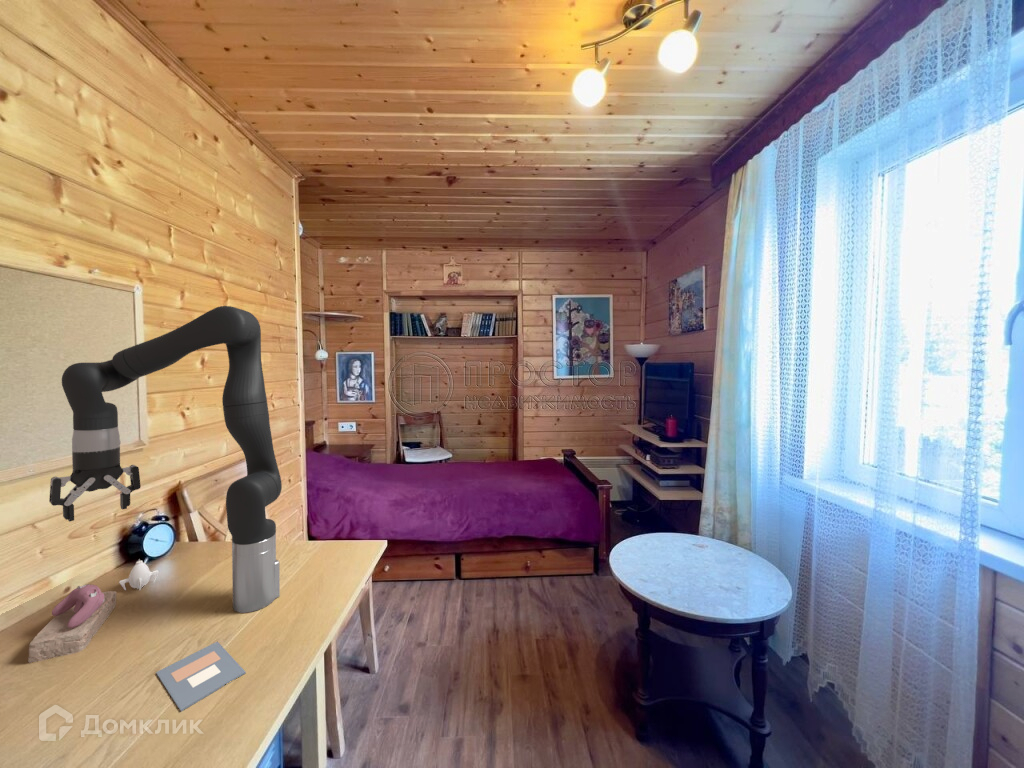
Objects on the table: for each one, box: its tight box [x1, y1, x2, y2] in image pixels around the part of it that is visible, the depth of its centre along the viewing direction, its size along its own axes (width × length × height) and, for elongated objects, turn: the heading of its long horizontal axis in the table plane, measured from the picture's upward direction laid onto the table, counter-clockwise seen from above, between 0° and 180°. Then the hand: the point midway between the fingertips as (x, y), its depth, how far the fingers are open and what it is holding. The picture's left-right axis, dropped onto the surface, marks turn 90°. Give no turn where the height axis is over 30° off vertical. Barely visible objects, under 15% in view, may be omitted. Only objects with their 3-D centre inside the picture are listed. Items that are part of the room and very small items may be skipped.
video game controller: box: [51, 584, 104, 628], centre depth 83 cm, size 10×5×7 cm, turn 66°
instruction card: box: [155, 641, 246, 712], centre depth 74 cm, size 10×14×1 cm
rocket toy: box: [118, 559, 160, 591], centre depth 100 cm, size 5×5×8 cm
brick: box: [27, 590, 118, 664], centre depth 84 cm, size 16×8×5 cm, turn 30°
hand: (98, 514), depth 89 cm, fingers open, 8 cm apart
